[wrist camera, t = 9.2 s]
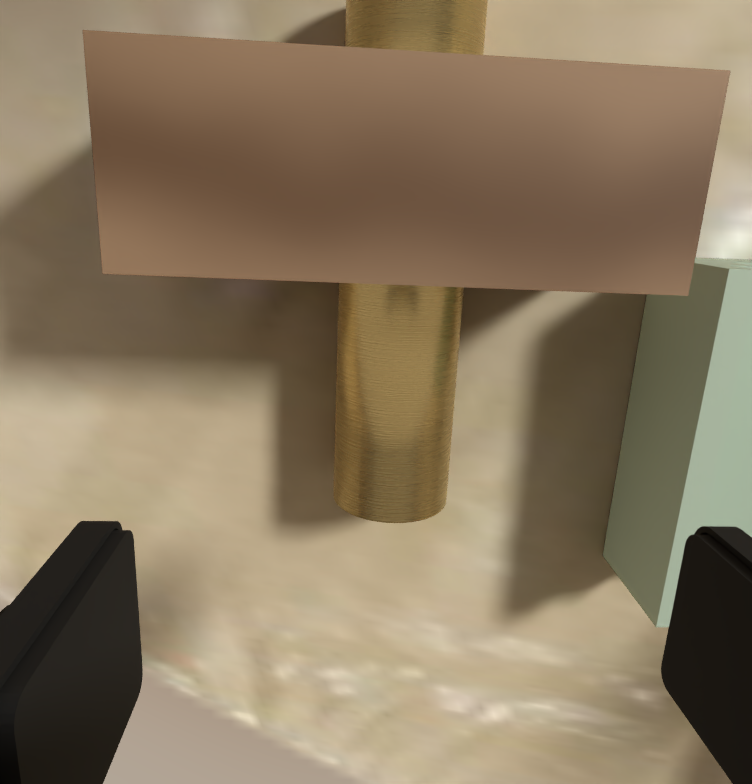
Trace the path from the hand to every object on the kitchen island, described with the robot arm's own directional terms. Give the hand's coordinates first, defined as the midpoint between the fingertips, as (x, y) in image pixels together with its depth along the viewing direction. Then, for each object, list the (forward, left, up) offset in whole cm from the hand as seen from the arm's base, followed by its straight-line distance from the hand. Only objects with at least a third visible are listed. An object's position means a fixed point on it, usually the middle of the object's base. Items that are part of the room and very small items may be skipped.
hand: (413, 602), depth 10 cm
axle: (-4, +1, -11) cm, 12 cm away
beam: (-7, 0, -13) cm, 15 cm away
